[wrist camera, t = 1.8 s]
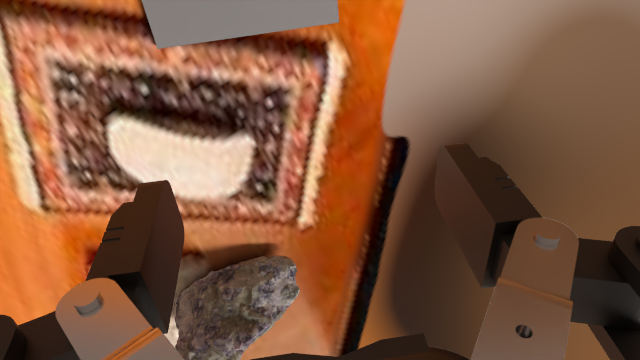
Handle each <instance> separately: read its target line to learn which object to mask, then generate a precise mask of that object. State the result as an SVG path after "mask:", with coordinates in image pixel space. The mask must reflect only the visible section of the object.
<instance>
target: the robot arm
mask: <svg viewBox="0 0 640 360" xmlns="http://www.w3.org/2000/svg"><path fill="white" fill-rule="evenodd" d="M435 197H436V202H437V205H438V208H439V209H440V211H441V213H442V215H443V217H444V219H445V221H446V223H447V224H448V226H449V228H450V230H451V232H452V234H453V236H454V237H455V239H456V241H457V243H458V245H459V247H460V249H461V251H462V252H463V254H464V256H465V258H466V260H467V262H468V264H469V266H470V268H471V269H472V271H473V273H474V275H475V277H476V279H477V281H478V283H479V284H480V286H481V288H487V287H494V286H495V290H494V292H493V296H492V298H491V301H490V304H489V307H488V310H487V314H486V316H485V319H484V322H483V325H482V328H481V331H480V334H479V337H478V340H477V343H476V346H475V349H474V352H473V354H472V357H471V360H564V356H565V350H566V344H567V338H568V332H569V326H570V322H577V323H585V324H588V325H589V327H590V329H591V330H592V332H593V333H594V335H595V337H596V338H597V340H598V341H599V343H600V344H601V346H602V347H603V349H604V351H605V352H606V354H607V355H608V357H609V358H610V360H640V226H630V227H626V228H622V229H621V230H619V231H618V232H617V234H616V236H615V238H614V240H613V242H612V241H601V240H590V239H582V238H577V236H576V234H575V233H574V232H573V231H572V230H571V229H570V228H569V227H567V226H566V225H564V224H562V223H560V222H558V221H555V220H552V219H548V218H542V217H541V215H540V214H539V213H538V212H537V210H536V209H535V208H534V207H533V205H532V204H531V203H530V202H529V200H528V199H527V198H526V197H525V196H524V194H523V193H522V192H521V191H520V189H519V188H517V187H516V184H515V183H514V182H513V181H512V179H509V176H508V174H507V173H506V172H505V171H504V169H503V168H502V167H501V166H500V165H498V164H497V163H495V162H493V161H491V160H490V159H489V158H487V157H480V158H478V156H477V155H476V154H475V152H474V151H473V150H472V148H471V147H470V146H469V145H468V144H467V143H460V144H453V145H444V146H441V147H440V148H439V152H438V162H437V170H436V181H435ZM183 245H184V226H183V221H182V218H181V215H180V212H179V209H178V206H177V203H176V200H175V197H174V194H173V191H172V188H171V185H170V183H169V182H168V181H167V180H164V181H156V182H148V183H141V184H140V185H139V186H138V189H137V192H136V195H135V198H134V201H133V202H127V203H123V204H122V205H121V206H120V207H119V208H118V209H117V210H116V211H115V213H114V214H113V215H112V216H111V218H110V221H109V223H108V226H107V228H106V232H105V233H104V236H103V238H102V243H100V246H99V248H98V251H97V254H96V256H95V259H94V261H93V264H92V266H91V269H90V271H89V274H88V276H87V279H86V281H85V282H83V283H81V284H79V285H77V286H75V287H74V288H72V289H71V290H70V291H68V292H67V293H66V294H65V295H64V296H63V297H62V299H61V300H60V301H59V303H58V305H57V308H56V311H54V312H52V313H49V314H47V315H44V316H42V317H39V318H36V319H34V320H31V321H29V322H26V323H23V324H21V325H17V324H16V323H15V321H14V320H13V319H12V318H11V317H9V316H6V315H0V360H184V359H183V357H182V356H181V355H180V354H179V352H178V351H177V350H176V349H175V348H174V346H173V345H172V344H171V343H170V341H169V340H168V339H167V338H166V336H165V335H164V334H166V333H168V328H169V323H170V317H171V311H172V306H173V300H174V295H175V289H176V284H177V278H178V272H179V267H180V261H181V256H182V250H183ZM251 360H469V359H468V358H466V357H464V356H461V355H459V354H457V353H454V352H451V351H448V350H445V349H440V348H435V347H428V345H427V342H426V339H425V336H424V334H423V333H422V334H416V335H409V336H403V337H396V338H389V339H383V340H380V341H377V342H375V343H372V344H370V345H368V346H365V347H363V348H360V349H358V350H355V351H353V352H351V353H348V354H346V355H343V356H339V357H332V356H321V355H309V354H298V353H290V354H284V355H277V356H271V357H264V358H258V359H251Z"/></svg>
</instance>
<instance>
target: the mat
mask: <svg viewBox="0 0 640 360" xmlns="http://www.w3.org/2000/svg"><path fill="white" fill-rule="evenodd" d="M142 3H143V6H144V9H145V12H146V15H147V18H148V21H149V24H150V27H151V30H152V33H153V36H154V39H155V43H156V46H157V49H160V48H166V47H173V46H180V45H187V44H194V43H201V42H208V41H215V40H221V39H228V38H235V37H242V36H249V35H256V34H263V33H269V32H276V31H283V30H290V29H297V28H304V27H311V26H317V25H324V24H331V23H338V22H339V16H338V3H337V0H142Z"/></svg>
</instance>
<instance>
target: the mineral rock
mask: <svg viewBox="0 0 640 360" xmlns="http://www.w3.org/2000/svg"><path fill="white" fill-rule="evenodd" d="M296 272H297V268H296V265H295V264H294V262H293V261H292V259H290V258H288V257H285V256H272V257H265V256H261V257H258V258H254V259H250V260H247V261H245V262H240V263H238V264H234V265H230V266H228V267H226V268H224V269H220V270H219V271H211V272H210V273H209V274H208V275H207V276H206V277H204V278H201V279H198V280H196V281H194V282H193V283H192V285H191V286H190V287H188V288H187V289H186V290H184V291H183V292H182V293H181V295H180V297H179V298H178V299H177V303H176V304H177V309H176V317H175V322H176V327H177V328H178V329H179V333H178V334H179V338H178V340H177V344H176V346H175V348H176V350H177V351H178V352H179V354H180V355H181V356H182V357H183V359H184V360H240V359H241V356H242V354H243V352H244V351H245V350H246V349H247V348H248V346H249V345H251V344H252V343H254V342H255V341H256V340H257V339H258V338H259V337H261V336H262V335H264V334H265V333H266V332H267V331H268V330H270V329H271V328H272V326H273V325H274V323H275V321H277V320H279V319H280V318H281V317H282V316H283V314H284V313H285V311H286V308H288V307H289V306H290V305H291V303H292V302H293V301H294V300H295V298H296V297H297V296H298V294H299V287H298V286H297V285H296V280H295V275H296Z"/></svg>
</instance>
